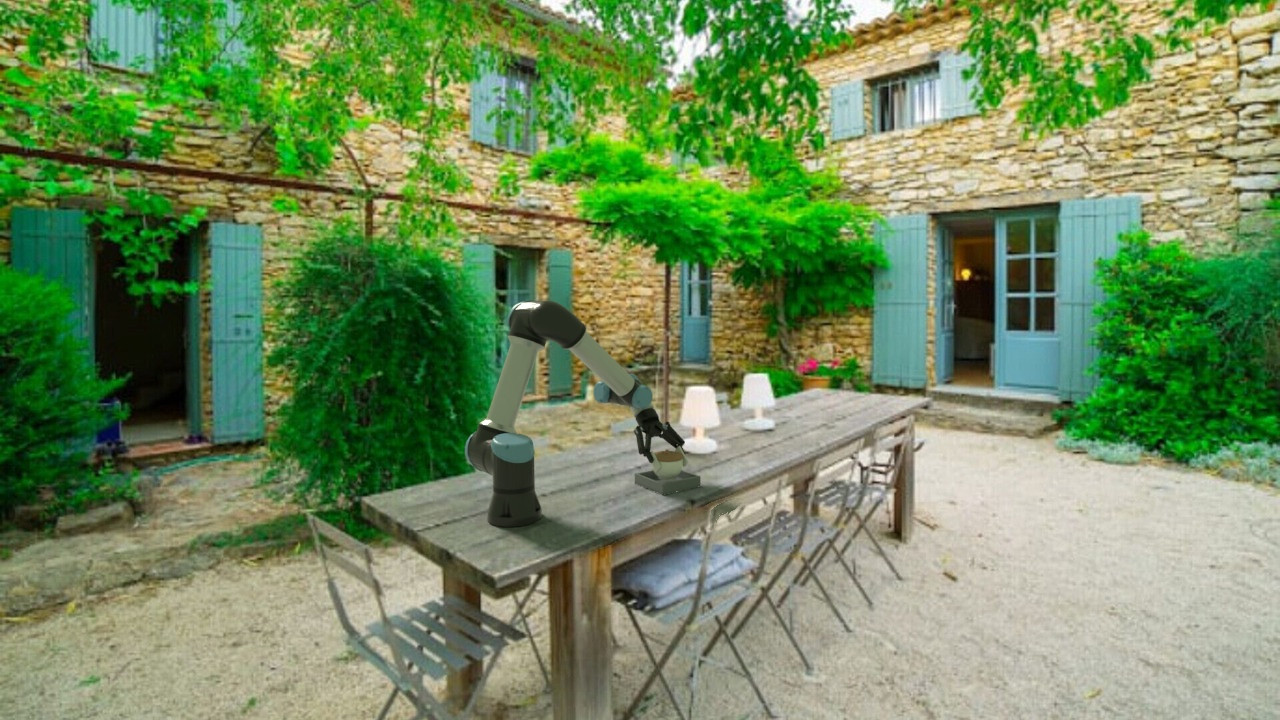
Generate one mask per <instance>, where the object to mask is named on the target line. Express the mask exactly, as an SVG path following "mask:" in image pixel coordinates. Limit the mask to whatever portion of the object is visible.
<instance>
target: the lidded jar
mask: <svg viewBox="0 0 1280 720" xmlns="http://www.w3.org/2000/svg"><path fill="white" fill-rule="evenodd" d="M654 454H655V456H656V458H657V460H658V462H659V464H660V466H661V469H660V470H659V471H658V472H656V471H655V469H654V467H653V465H652V464H651V467H652V469H651V470H653V471H654V473H655V474H656V475H657V476H658V478H659V479H662V480H673V479H676V477H677V476H678V475H679V474H680V472H681V470H683V454H682V453H680V452H675V450H669V449H665V450H660V451H655V452H654Z"/></svg>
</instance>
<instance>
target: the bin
mask: <svg viewBox="0 0 1280 720" xmlns="http://www.w3.org/2000/svg"><path fill="white" fill-rule="evenodd" d="M636 484H638V485H637V486H639V485H640V486H639V487H641V486H643V487H642V488H644V487H645V488H644V489H646V488H648V489H650V490H649V491H651V490H653V491H655V492H654V493H656V492H658V493H660V494H662V495H661V496H665V495H664V494H667V495H669V494H668V493H671V494H673V493H672V492H676V491H680V492H682V491H681V490H684V491H687V490H686V489H688V490H691V489H690V488H693V489H696V488H695V487H697V488H699V487H698V486H700V487H701V476H700V475H697V474H695V473H692V472H689V471H686V470H683V469H682V470H681V472H680V474H679V475H678V476H677V477H676V479H673V480H662V479H659V478H658V476H657V475H656V474H655V473H654V471H653V469H651V470H645V471H641V472H637V473H634V485H636ZM648 489H647V490H648ZM653 491H652V492H653ZM658 493H657V494H658ZM676 493H677V492H676ZM660 494H659V495H660Z"/></svg>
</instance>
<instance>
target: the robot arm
mask: <svg viewBox="0 0 1280 720" xmlns="http://www.w3.org/2000/svg"><path fill="white" fill-rule="evenodd" d="M508 312H509V313H508V314H507V321H506V322H507V323H506V324H507V327H508V329H509V332H508V335H507V338H508V340H509V342H510V343H509V344H510V346H509V349H508V350H507V351H508V352H507V355H506V358H505V361H504V363H503V367H502V370H501V373H500V376H499V380H498V382H497V385H496V388H495V392H494V394H493V398H492V400H491V403H490V405H489V409H488V412H487V416H486V418H485V419H484V420H482V421H480V422H479V423H478V427H477V430H476V431H474V432H473V433H472V434H470V436H469V437H468V439H467V440H466V442H465V446H464V454H465V457H466V460H467V461H468V463H469V464H470V465H471V467H473V468H475V469H476V470H477V471H479V472H483V473H485V474H488V475H490V476H492V496H491V498H490V503H489V506H488V510H487V522H488V523H489V524H491V525H492V526H497V527H503V528H505V527H506V528H508V527H509V528H513V527H514V528H515V527H522V526H527V525H531V524H533V523H536V522H538V521H539V520H540V519H541V518H542V517H543V516H542V515H543V514H542V513H543V512H542V506H541V503H540V499H539V497H538V495H537V492H536V486H535V484H536V483H535V481H536V480H535V477H536V476H535V454H536V453H535V447H534V446H535V445H534V441H533V439H532V438H531V437H530V436H528V435H526V434H523V433H522V434H521V433H517V431H516V429H515V425H516V422H517V418H518V415H519V413H520V408H521V406H522V402H523V399H524V397H525V393H526V390H527V387H528V384H529V380H530V379H531V378H530V377H531V375H532V371H533V368H534V366H535V361H536V359H537V356H538V354H539V352H540V351H542V350H544V349H545V347H546V344H547V341H548V340H549V341H552V342H553V343H555V344H557V345H559V347H561V348H562V349H563V350H568V351H570V352H571V353H572V354H573V355H574V356H576V358H578V359H579V361H581V363H583V365H585V366H586V367H587V368H588V369H589V370H590V371H591V372H592V373H593V374H594V375H596V376H597V377H598V378H599V379H600V381H597V382H596V384H595V385H594V387H593V397H594V400H595V401H596V402H597V403H600V404H615V405H619V406H626V407H629V410H630V411H631V413H632V415H633V417H634V419H635V421H636V423H637V426H636V427H635V428H634V430H633V433H634V435H635V438H636V443H637V450H638V454H639V455H640V456H641V455H643V457H644V458H645V457H646V458H647V461H648V462H649V464H651V466H652V465H653V467H654V469H655V471H656V472H658V471H659V470H660V469H661V466H660V464H659V462H658V460H657V458H656V456H655V454H654V453H655V452H654V450H651V447H652V438H655V437H657V438H660V439H663V440H664V441H665V442H667V444H669V445H670V446H671V447H673V448H674V449H675V450H674V451H675V452H680V453H682V454H683V466H682V468H683V467H686V466H687V465H688V464H689V460H688V458H687V456H686V451H685V450H684V448H683V446H684V445H685V443H686V442H685V440H684V439H683V438H682V436H680V434H678V432H676V430H675V429H674V428H673V427H672V425H671V424H670V422H669V421H666V422H661V421H660V418H659V415H658V413H657V410H656V409H655V408H654V405H653V403H652V402H653V396H654V394H653V391H652V389H651V388H650V387H649V386H647V385H644V384H642V382H641V381H640V379H639V378H638V376H637V375H636V374H634V373H628V371H626V370H625V368H623V367H622V365H621V364H619V362H617V360H616V359H615V358H613V357H612V356H611V355H610V354H609V353H608V351H607V350H606V349H604V347H602V346H601V345H600V344H599V342H597V341H596V339H594V337H592V336H591V335H590V333H589V332H587V327H586V325H585V324H584V323H583V322H582V320H580V319H579V318H578V317H577V316H576V315H575V314H574V313H573V312H572V311H570V310H569V309H568V308H567V307H566V306H564V305H563V304H561V303H559V302H557V301H553V300H548V299H545V300H534V299H533V300H531V299H530V300H525V301H524V300H523V301H521V302H518V303H516V304H515V305H513V307H512V308H511V309H510V311H508ZM644 434H645V436H643V435H644ZM644 440H645V441H644Z"/></svg>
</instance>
